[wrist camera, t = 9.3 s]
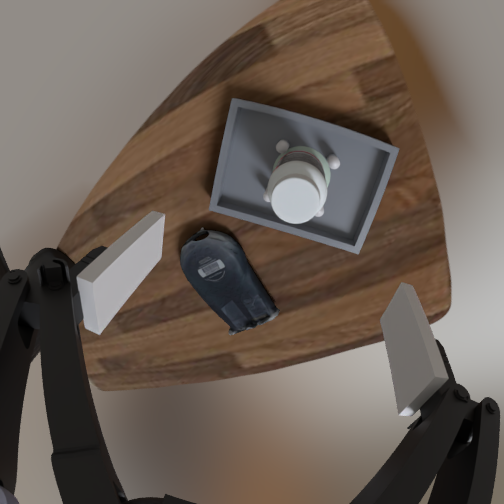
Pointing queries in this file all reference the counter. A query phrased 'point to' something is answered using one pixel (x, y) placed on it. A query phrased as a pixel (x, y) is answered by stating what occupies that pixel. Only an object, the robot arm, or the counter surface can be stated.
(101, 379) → the counter surface
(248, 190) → the tray
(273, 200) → the pill bottle
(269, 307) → the electronic device
